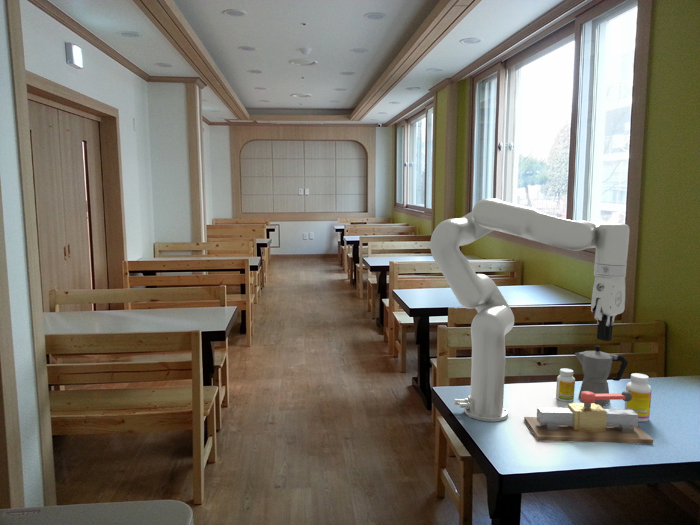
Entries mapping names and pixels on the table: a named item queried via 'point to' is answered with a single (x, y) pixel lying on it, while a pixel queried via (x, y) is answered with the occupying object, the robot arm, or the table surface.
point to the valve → (587, 418)
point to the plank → (586, 434)
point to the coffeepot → (598, 371)
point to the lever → (603, 397)
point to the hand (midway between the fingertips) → (604, 339)
